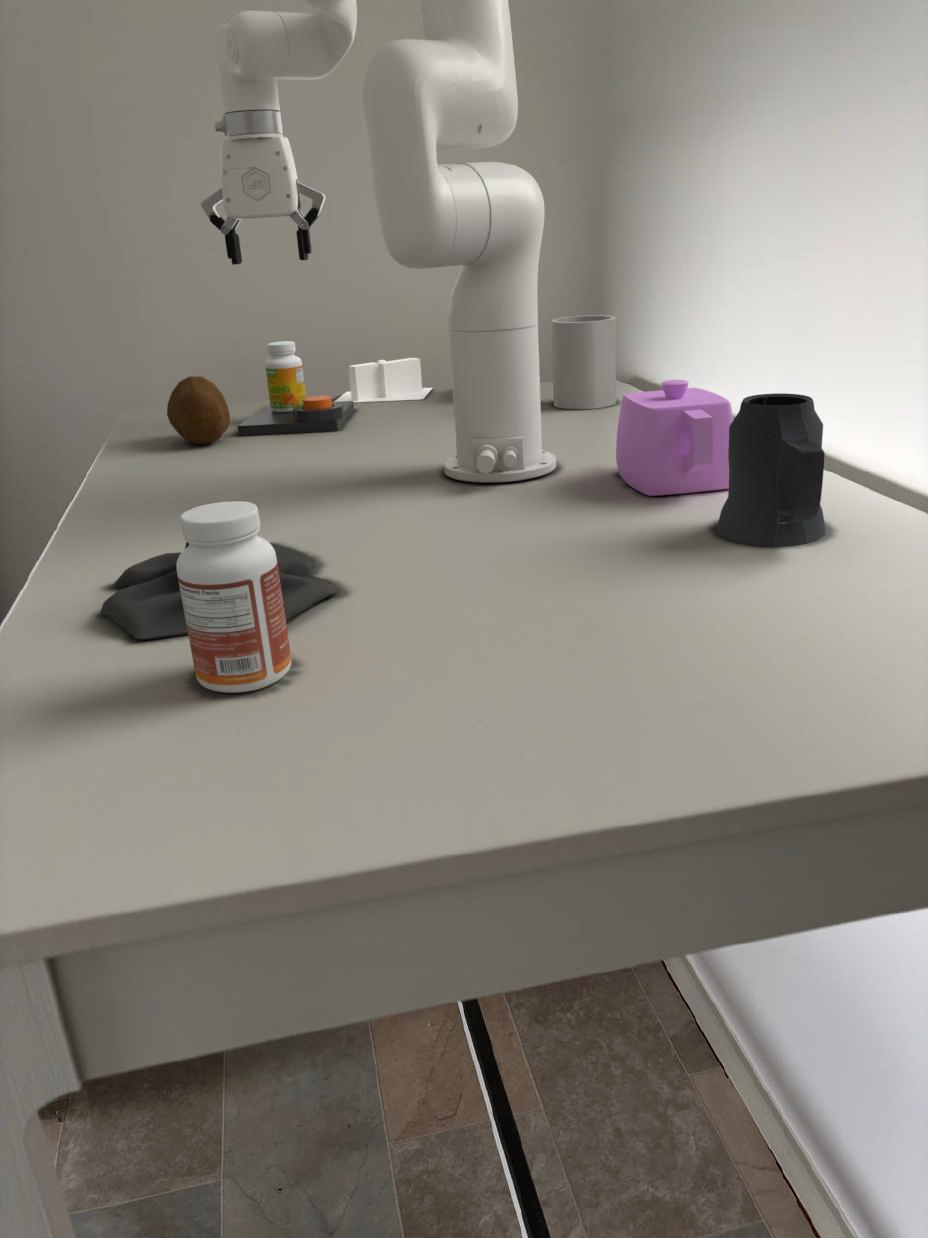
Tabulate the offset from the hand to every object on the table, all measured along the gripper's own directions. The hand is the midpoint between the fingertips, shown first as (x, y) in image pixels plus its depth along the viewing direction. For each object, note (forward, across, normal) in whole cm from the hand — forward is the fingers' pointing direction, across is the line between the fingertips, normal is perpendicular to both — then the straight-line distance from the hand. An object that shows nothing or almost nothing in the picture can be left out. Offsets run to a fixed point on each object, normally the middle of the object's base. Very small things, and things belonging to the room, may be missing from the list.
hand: (270, 261), depth 144 cm
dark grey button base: (+22, +2, -3) cm, 23 cm away
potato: (+22, -10, -13) cm, 28 cm away
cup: (+22, +44, 0) cm, 49 cm away
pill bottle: (+22, +16, -92) cm, 96 cm away
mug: (+22, +56, -67) cm, 90 cm away
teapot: (+22, +50, -47) cm, 72 cm away
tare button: (+20, +6, -8) cm, 22 cm away
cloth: (+22, +10, -75) cm, 79 cm away
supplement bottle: (+21, 0, 0) cm, 21 cm away
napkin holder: (+22, +12, +17) cm, 31 cm away
